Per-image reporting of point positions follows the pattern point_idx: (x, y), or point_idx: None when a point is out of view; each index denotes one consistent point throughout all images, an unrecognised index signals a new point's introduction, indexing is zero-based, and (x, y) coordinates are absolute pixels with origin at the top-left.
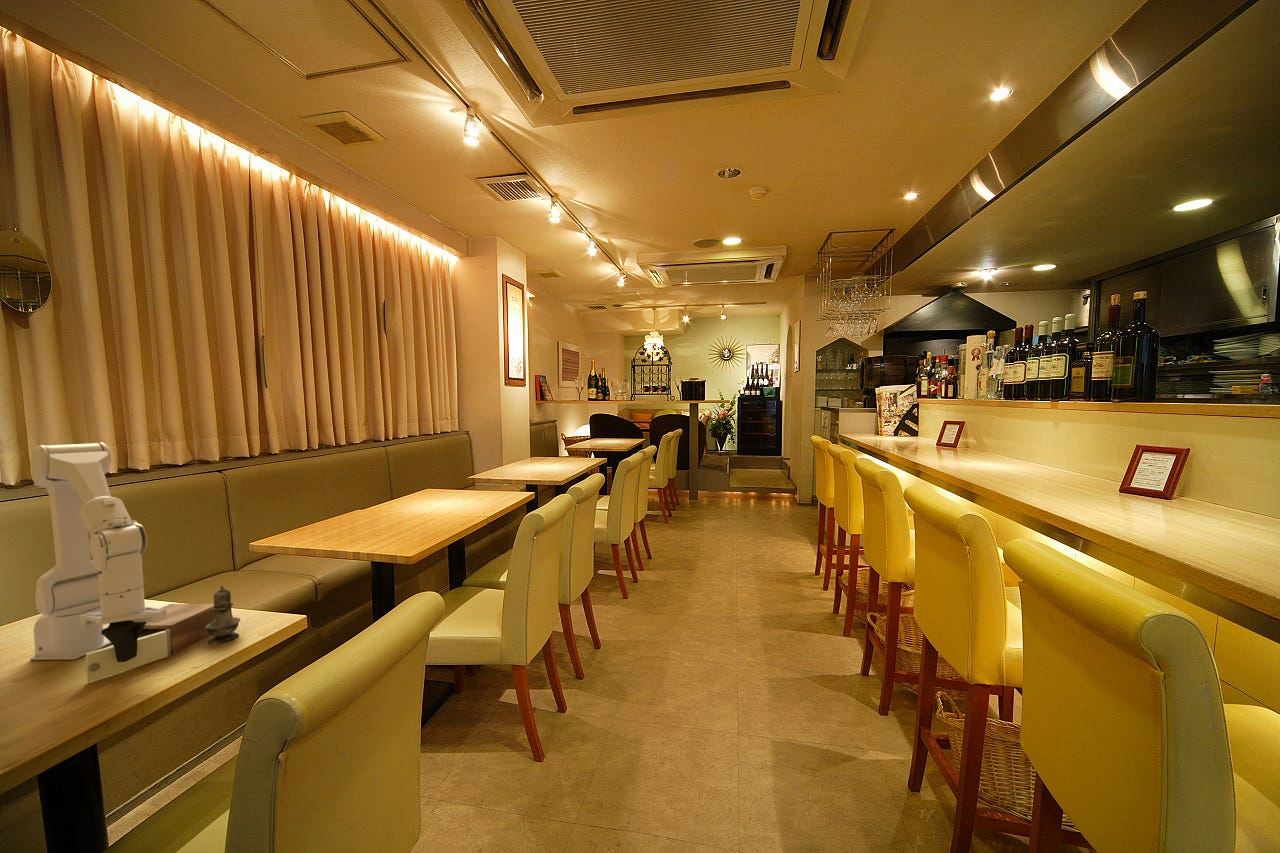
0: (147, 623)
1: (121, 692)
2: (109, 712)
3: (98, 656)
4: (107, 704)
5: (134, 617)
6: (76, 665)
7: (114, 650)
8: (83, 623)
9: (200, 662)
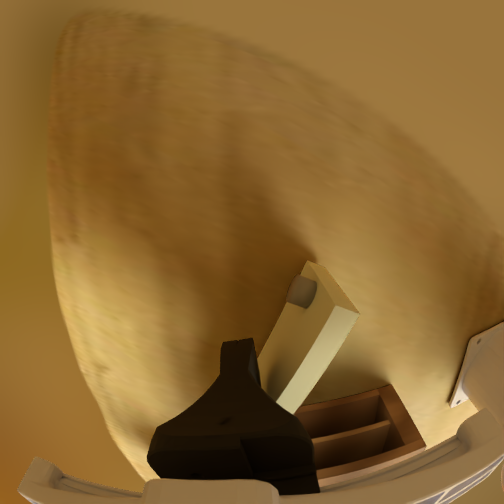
0: (343, 480)
1: (130, 238)
2: (56, 158)
3: (309, 326)
4: (97, 181)
5: (75, 502)
6: (449, 325)
7: (287, 371)
8: (479, 423)
9: (118, 386)
